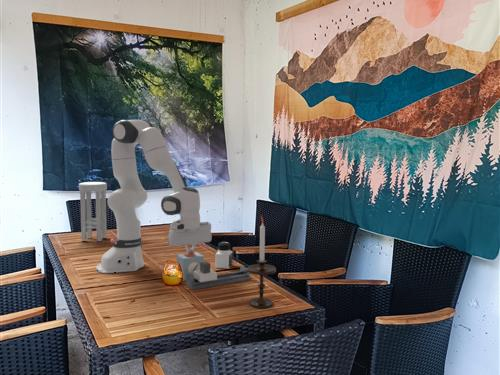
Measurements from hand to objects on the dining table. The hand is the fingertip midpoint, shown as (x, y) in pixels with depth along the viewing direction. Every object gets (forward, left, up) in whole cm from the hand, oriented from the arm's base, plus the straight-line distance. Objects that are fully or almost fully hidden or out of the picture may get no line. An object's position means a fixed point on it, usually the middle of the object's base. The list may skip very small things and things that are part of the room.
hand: (190, 253), depth 201 cm
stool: (-24, +93, -11) cm, 97 cm away
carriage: (+2, -13, -8) cm, 15 cm away
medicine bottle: (+21, +7, -11) cm, 25 cm away
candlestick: (+11, -44, -11) cm, 47 cm away
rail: (+8, -13, -11) cm, 19 cm away
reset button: (0, 0, -4) cm, 5 cm away
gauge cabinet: (0, 0, -11) cm, 11 cm away
